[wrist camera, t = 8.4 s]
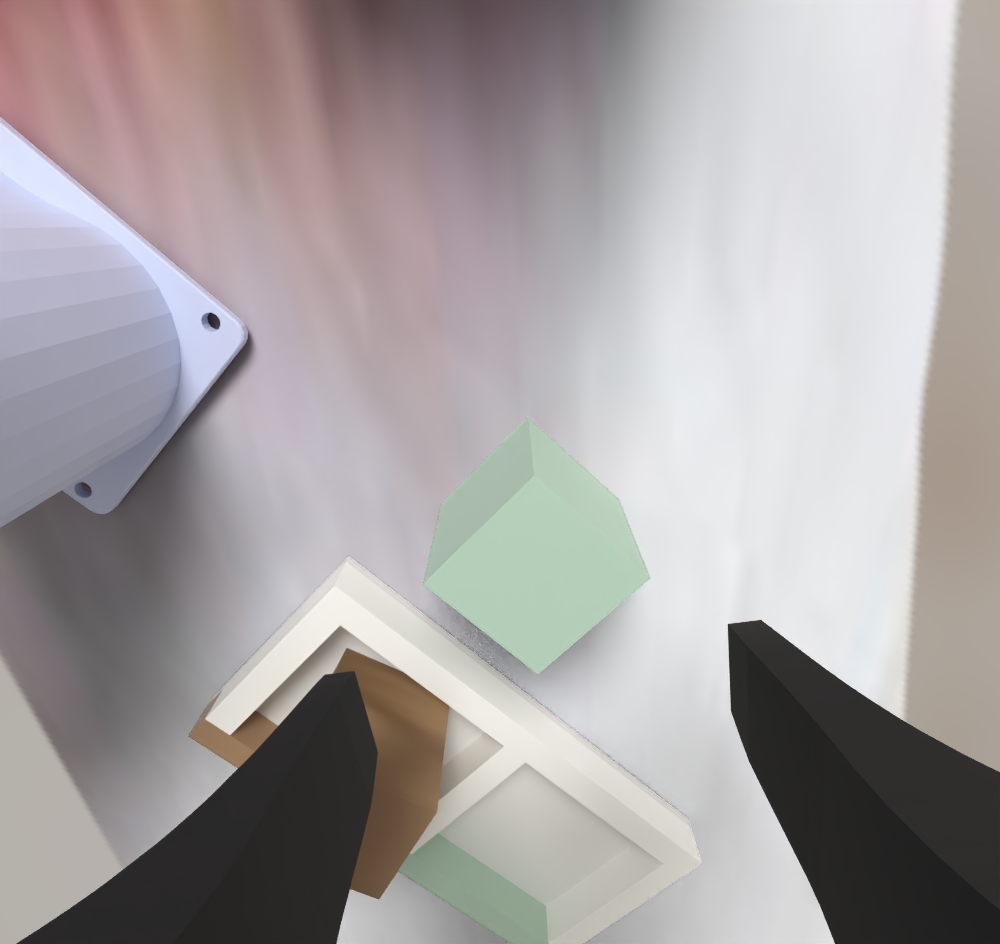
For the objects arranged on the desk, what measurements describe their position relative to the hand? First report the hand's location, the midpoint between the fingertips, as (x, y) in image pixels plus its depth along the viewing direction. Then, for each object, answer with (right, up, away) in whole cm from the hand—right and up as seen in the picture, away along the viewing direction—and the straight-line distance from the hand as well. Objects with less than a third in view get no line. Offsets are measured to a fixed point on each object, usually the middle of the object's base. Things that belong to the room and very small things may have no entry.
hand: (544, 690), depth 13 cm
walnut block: (-5, -4, +11) cm, 13 cm away
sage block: (0, +3, +8) cm, 9 cm away
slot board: (-2, -7, +12) cm, 14 cm away
